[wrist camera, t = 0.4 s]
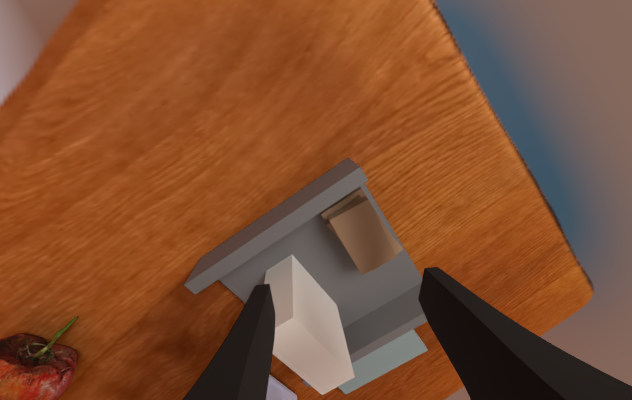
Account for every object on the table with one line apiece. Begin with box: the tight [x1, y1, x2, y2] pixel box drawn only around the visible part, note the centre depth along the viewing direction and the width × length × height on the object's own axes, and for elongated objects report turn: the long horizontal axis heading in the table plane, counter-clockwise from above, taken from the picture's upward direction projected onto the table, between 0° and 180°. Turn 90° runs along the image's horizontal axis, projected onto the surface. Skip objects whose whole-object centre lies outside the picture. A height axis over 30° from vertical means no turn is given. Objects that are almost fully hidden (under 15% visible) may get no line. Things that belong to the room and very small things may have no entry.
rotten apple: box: [0, 316, 78, 400], centre depth 19 cm, size 7×7×10 cm
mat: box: [338, 329, 427, 394], centre depth 27 cm, size 12×8×1 cm, turn 124°
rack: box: [184, 158, 427, 387], centre depth 21 cm, size 16×17×4 cm
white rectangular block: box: [264, 255, 355, 395], centre depth 19 cm, size 3×8×7 cm, turn 34°
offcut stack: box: [320, 186, 403, 275], centre depth 20 cm, size 4×7×2 cm, turn 34°
